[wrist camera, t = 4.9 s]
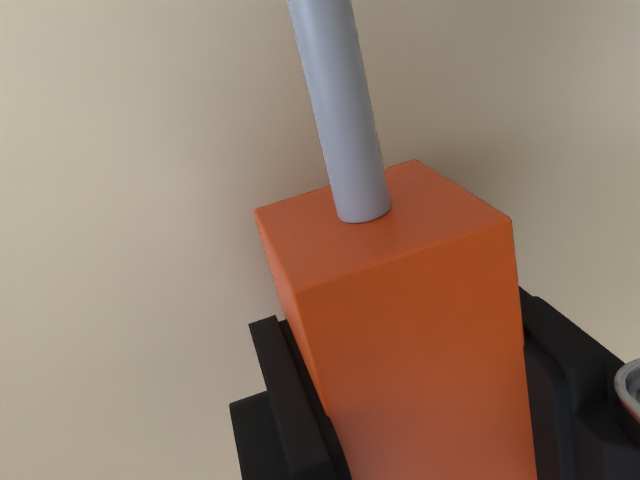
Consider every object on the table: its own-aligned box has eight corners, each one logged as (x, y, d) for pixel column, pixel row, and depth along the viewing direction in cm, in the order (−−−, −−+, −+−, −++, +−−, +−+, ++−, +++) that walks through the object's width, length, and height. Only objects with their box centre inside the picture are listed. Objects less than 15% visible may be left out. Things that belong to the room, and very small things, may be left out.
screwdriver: (466, 451, 14) (550, 574, 11) (340, 500, 13) (392, 641, 10) (345, -251, 8) (449, -387, 5) (127, -206, 8) (111, -326, 5)
